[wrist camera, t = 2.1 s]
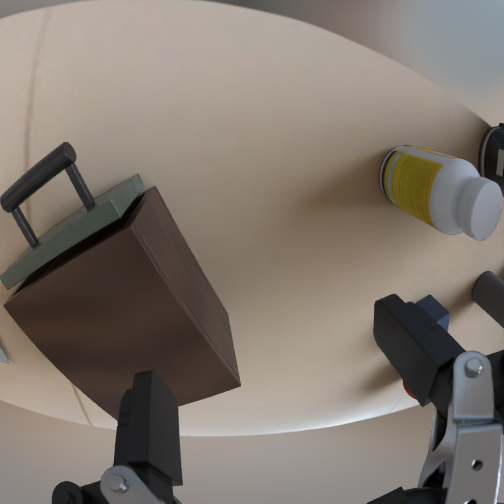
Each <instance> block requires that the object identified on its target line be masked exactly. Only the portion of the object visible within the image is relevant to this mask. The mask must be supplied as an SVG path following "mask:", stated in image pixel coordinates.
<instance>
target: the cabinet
mask: <svg viewBox="0 0 504 504" xmlns="http://www.w3.org/2000/svg"><path fill="white" fill-rule="evenodd" d="M131 212H133V213H132V214H131V216H130V217H129V219H128V220H127V222H126V223H125V225H124V226H123V228H121V229H119V230H117V231H115V232H114V233H112V234H110V235H108V236H107V237H105V238H103V239H101V240H100V241H98V242H96V243H95V244H93V245H91V246H89V247H88V248H86V249H84V250H83V251H81V252H79V253H78V254H76V255H74V256H73V257H71V258H70V259H68V260H66V261H65V262H63V263H62V264H60V265H58V266H57V267H55V268H54V269H52V270H51V271H49V272H48V273H46V274H44V273H45V272H46V270H47V269H48V268H49V267H50V265H51V264H52V263H53V262H54V261H55V259H56V258H57V257H58V256H59V255H58V256H57V257H55V258H54V259H52V260H51V261H49V262H48V263H46V264H45V265H43V266H42V267H40V268H39V269H37V270H36V271H34V272H33V273H32V274H30V275H29V276H27V277H26V278H25V279H24V280H23V281H22V282H21V283H20V285H19V286H18V287H17V288H16V290H15V291H14V292H13V293H12V295H11V296H10V297H9V298H8V300H7V301H6V302H5V304H4V305H3V306H4V307H5V309H6V310H7V311H8V313H9V314H10V315H11V317H12V318H13V319H14V320H15V322H16V323H17V324H18V325H19V327H20V328H21V329H22V330H23V332H24V333H25V334H26V335H27V336H28V337H29V339H30V340H31V341H32V342H33V343H34V344H35V345H36V346H37V348H38V349H39V350H40V351H41V352H42V353H43V354H44V355H45V356H46V357H47V358H48V359H49V360H50V361H51V363H52V364H53V365H54V366H55V367H56V368H57V369H58V370H59V371H60V372H61V373H62V374H64V375H65V376H66V377H67V378H68V379H69V380H70V381H71V382H72V383H73V384H74V385H75V386H76V387H77V388H78V389H80V390H81V391H82V392H83V393H84V394H85V395H86V396H87V397H89V398H90V399H91V400H92V401H93V402H95V403H96V404H97V405H98V406H99V407H101V408H102V409H103V410H104V411H106V412H107V413H108V414H109V415H111V416H112V417H113V418H114V419H116V420H117V421H118V416H119V407H120V401H121V399H122V397H123V396H124V394H125V392H126V390H127V389H132V387H133V380H134V375H135V374H136V373H140V372H145V371H150V370H157V371H158V373H159V374H160V375H161V377H162V378H163V380H164V381H165V383H166V384H167V385H168V387H169V388H170V390H171V391H172V392H173V394H174V396H175V398H176V400H177V404H178V406H182V405H185V404H189V403H192V402H195V401H198V400H202V399H205V398H208V397H211V396H214V395H217V394H220V393H223V392H226V391H229V390H232V389H234V388H237V387H240V386H241V382H240V377H239V372H238V366H237V361H236V356H235V350H234V345H233V340H232V334H231V328H230V323H229V317H228V313H227V311H226V310H225V308H224V306H223V305H222V303H221V302H220V300H219V298H218V296H217V295H216V293H215V291H214V290H213V288H212V286H211V285H210V283H209V281H208V280H207V278H206V276H205V274H204V273H203V271H202V269H201V268H200V266H199V264H198V262H197V261H196V259H195V257H194V255H193V254H192V252H191V250H190V248H189V247H188V245H187V243H186V241H185V239H184V238H183V236H182V234H181V232H180V230H179V229H178V227H177V225H176V223H175V221H174V219H173V218H172V216H171V214H170V212H169V210H168V208H167V206H166V205H165V203H164V201H163V199H162V197H161V195H160V193H159V191H158V189H157V188H156V186H155V187H153V188H151V189H149V190H147V191H145V192H143V193H142V194H140V195H138V196H137V197H136V198H135V199H134V200H133V202H132V203H131V204H130V206H129V207H128V208H127V210H126V211H125V212H124V214H123V215H122V216H121V218H122V217H124V216H125V215H127V214H129V213H131ZM119 219H120V218H119ZM117 220H118V219H117ZM117 220H116V221H117ZM114 222H115V221H114ZM112 223H113V222H112ZM110 224H111V223H110ZM110 224H109V225H110ZM107 226H108V225H107ZM105 227H106V226H105ZM103 228H104V227H103ZM103 228H102V229H103ZM100 230H101V229H100ZM98 231H99V230H98ZM98 231H97V232H98ZM95 233H96V232H95ZM93 234H94V233H93ZM93 234H92V235H93ZM90 236H91V235H90ZM88 237H89V236H88ZM88 237H87V238H88ZM85 239H86V238H85ZM82 241H83V240H82ZM80 242H81V241H80ZM80 242H79V243H80ZM77 244H78V243H77ZM75 245H76V244H75ZM75 245H74V246H75ZM72 247H73V246H72ZM72 247H71V248H72ZM69 249H70V248H69ZM66 251H67V250H66ZM64 252H65V251H64ZM64 252H63V253H64ZM61 254H62V253H61ZM61 254H60V255H61ZM43 274H44V275H43ZM42 275H43V276H42Z"/></svg>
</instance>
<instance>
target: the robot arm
mask: <svg viewBox="0 0 504 504" xmlns="http://www.w3.org/2000/svg"><path fill="white" fill-rule="evenodd" d="M479 169H480V176H481V177H484V178H487V179H489V180H491V181H493V182H495V183H497V184H498V186H499V187H500V189H501V192H502V197H504V124H503V123H500V124H499V126H498V127H497V126H496V127H492V128H490V129H489V130H488V131H487V133H486V134H485V136H484V139H483V141H482V145H481V149H480V157H479ZM373 332H374V337H375V340H376V343H377V345H378V346H379V348H380V349H381V350H382V352H383V353H384V354H385V356H386V357H387V358H388V360H389V361H390V363H391V364H392V365H393V367H394V368H395V369H396V371H397V372H398V374H399V375H400V376H401V378H402V379H403V381H404V382H405V383H406V385H407V386H408V388H409V389H410V390H411V392H412V393H413V395H414V396H415V398H416V399H417V400H418V402H419V403H420V405H421V406H422V407H424V406H425V405H427V404H429V403H430V402H432V403H433V404H434V406H435V408H434V414H433V423H432V431H431V438H430V444H429V450H428V455H427V458H426V461H425V463H424V466H423V469H422V472H421V475H420V479H419V484H418V488H412V489H407V490H403V488H402V487H399V488H397V489H395V490H393V491H391V492H389V493H387V494H385V495H383V496H381V497H379V498H377V499H375V500H373V501H370V502H368V503H367V504H504V503H498V502H497V497H498V490H499V483H500V482H499V481H500V474H501V462H502V445H503V435H504V350H502V351H499V352H496V353H493V354H490V355H486V356H485V355H484V354H482V353H480V352H477V351H465V350H464V349H463V348H462V347H461V346H460V345H459V344H458V343H457V342H456V341H455V339H454V338H453V337H452V336H451V335H450V334H449V333H448V332H447V331H446V330H445V329H444V328H443V327H442V326H441V325H440V324H439V325H438V322H437V321H436V320H435V319H434V318H433V317H432V318H431V315H430V314H429V313H428V312H427V311H426V310H425V309H424V308H423V307H421V306H419V305H417V304H414V303H412V302H407V303H405V302H404V301H403V300H402V299H401V298H400V297H399V296H398V295H396V294H391V295H389V296H387V297H384V298H382V299H379V300H377V301H376V302H375V304H374V328H373ZM117 424H118V426H117V433H116V442H115V454H114V464H113V467H111V468H109V469H107V471H105V472H104V474H103V475H102V477H101V480H100V481H98V482H95V483H92V484H88V485H85V486H81V487H79V486H78V485H76V484H74V483H72V482H69V481H64V482H61V483H59V484H58V485H57V486H56V487H55V489H54V491H53V494H52V504H182V503H181V502H180V501H179V500H178V499H177V498H176V497H175V496H174V495H173V488H172V486H181V485H183V480H182V468H181V455H180V438H179V415H178V404H177V400H176V398H175V396H174V394H173V392H172V391H171V390H170V388H169V387H168V385H167V384H166V383H165V381H164V380H163V378H162V377H161V375H160V374H159V373H158V371H157V370H150V371H145V372H140V373H136V374H135V375H134V380H133V387H132V389H127V390H126V392H125V394H124V396H123V397H122V399H121V401H120V407H119V416H118V423H117Z"/></svg>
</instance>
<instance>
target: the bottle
mask: <svg viewBox="0 0 504 504" xmlns="http://www.w3.org/2000/svg"><path fill="white" fill-rule="evenodd" d="M472 299H473V300H474V301H475V302H476V303H477V304H478V305H479V306H480V307H481V308H482V309H483V310H485V311H486V312H487V313H488V314H489V315H490V316H491V317H492V318H493V319H494V320H495V321H496V322H498V323H499V324H500V325H501V326H502V327H503V328H504V281H503V280H502V279H500V278H499V277H498V276H496V275H495V274H493V273H492V272H490V271H486V272H485V273H483V274H482V275H481V276H480V278H479V279H478V280H477V282H476V284H475V286H474V288H473V291H472Z"/></svg>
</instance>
